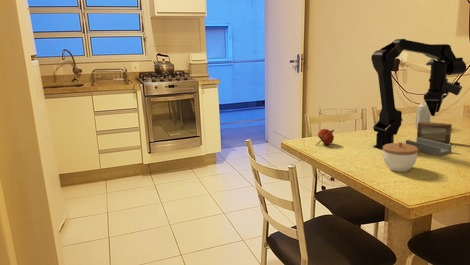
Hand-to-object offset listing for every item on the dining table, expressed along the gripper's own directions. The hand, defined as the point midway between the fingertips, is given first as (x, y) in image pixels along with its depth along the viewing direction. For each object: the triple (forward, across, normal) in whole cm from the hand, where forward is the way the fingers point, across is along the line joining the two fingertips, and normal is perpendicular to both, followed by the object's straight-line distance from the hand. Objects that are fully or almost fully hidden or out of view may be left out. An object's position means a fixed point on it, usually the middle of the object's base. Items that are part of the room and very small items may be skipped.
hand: (435, 113), depth 144 cm
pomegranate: (+12, -24, +38) cm, 47 cm away
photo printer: (+12, +24, +9) cm, 28 cm away
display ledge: (+12, -13, 0) cm, 18 cm away
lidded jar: (+12, -40, +3) cm, 42 cm away
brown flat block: (+12, 0, 0) cm, 12 cm away
